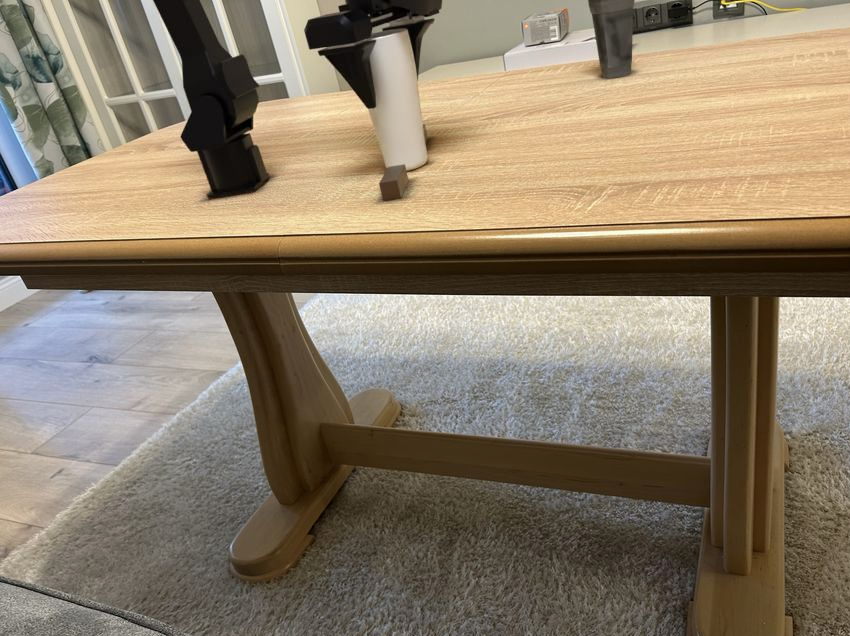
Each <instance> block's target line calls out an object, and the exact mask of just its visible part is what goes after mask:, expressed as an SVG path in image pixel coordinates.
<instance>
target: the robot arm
mask: <svg viewBox="0 0 850 636" xmlns="http://www.w3.org/2000/svg"><path fill="white" fill-rule="evenodd" d="M152 2H153V4H154V6H155V7H156V10H157V12H158V14H159V16H160V18H161V20H162V22H163V24H164V26H165V28H166V30H167V32H168V34H169V36H170V38H171V40H172V43H173V45H174V46H175V49H176V51H177V53H178V55H179V57H180V60H181V72H182V74H181V75H182V87H183V88H182V89H183V91H184V94H185V97H186V100H187V103H188V106H189V109H190V112H191V113H190V114H189V116H188V119H187V120H186V122H185V125H184V127H183V130H182V131H181V134H180V139H181V141H182V142H183V144H184V145H185V146H186V147H187V149H188V151H190V152H191V153H194V152H197V156H198V158H199V161H200V163H201V166H202V169H203V173H204V175H205V176H206V180H207V183H208V185H209V188H210V191H209V192H207V193H206V197H207V199H212V198H213V199H214V198H219V197H224V196H231V195H237V194H243V193H244V194H245V193H250V192H254V191H256V190H257V189H258V188H259V187H260V186H261V185H262V184H263V183H264V182H265V181H266V180H268V178H270V174H269V172H267V170H266V169H267V168H266V166H265V163H264V159H263V157H262V154H261V150H260V148H259V145H257V144H255V143H254V140H253V138H252V135H251V133H250V132H249V131H252V130H254V115H255V114H256V112H257V108H258V105H259V103H260V101H259V94H258V91H257V89H258V88H259V87H260V85H259V83H258V81H256V79H255V78H254V77H253V74H252V73H251V70H250V66H249V63H248V60H247V58H246V57H245V55H244V54H243V53H241V54H238V55H235V56H232V54H230V53H229V52H228V51H227V50H226V49H225V48H224V47H223V46H222V44H221V43H220V41H219V39H218V37H217V35H216V33H215V30H214V28H213V27H212V24H211V22H210V20H209V17H208V15H207V13H206V11H205V8H204V7H203V4H202V1H201V0H152ZM337 7H338V12H333V13H327V14H323V15H320V16H315V17H313V18H309V19H307V22H306V24H305V27H304V29H303V32H304V36H305V40H306V43H307V47H308V50H310V51H311V50H317V53H318V56H319V57H323V56H324V58H325V59H326V60H327V61H328V62H329V63H330V64H331V66H332V67H333V68H334V69H335V70H336V71H337V72H338V73H339V74H340V76H341V77H342V78H343V80H345V82H346V83H347V85H348V86H349V87H350V89H351V90H352V91H353V92H354V93H355V95H356V96H357V97H358V98H359V100H360V101H361V103H362V104H363V105H364V106H365V108H366V109H367V110H368V109H372V108H375V107H376V95H375V88H374V82H373V76H372V70H371V64H370V55H371V53H372V50H373V48H374V46H375V43H376V40H370V41H366V39H367V38H370V37H371V34H372V33H373V28H377V27H379V26H382V25H385V24H389V26H385V27H383V28H381V30H382V31H387V30H393V29H401V28H405V29H407V30H408V33H409V37H410V41H411V45H412V50H413V55H414V60H415V66H416V72H417V80H418V81H419V72H420V60H421V52H422V51H421V50H422V44H423V38H424V35H425V34H426V32H427V31H428V29H429V28H430V26H431V25H433V24H434V22H435V20H436V19H435V17H434V18H433V16H435V15H438V14H440V10H442V8H443V0H344V4H340V5H338V6H337ZM429 17H432V18H429ZM425 18H426V19H425ZM248 132H249V133H248Z"/></svg>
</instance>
